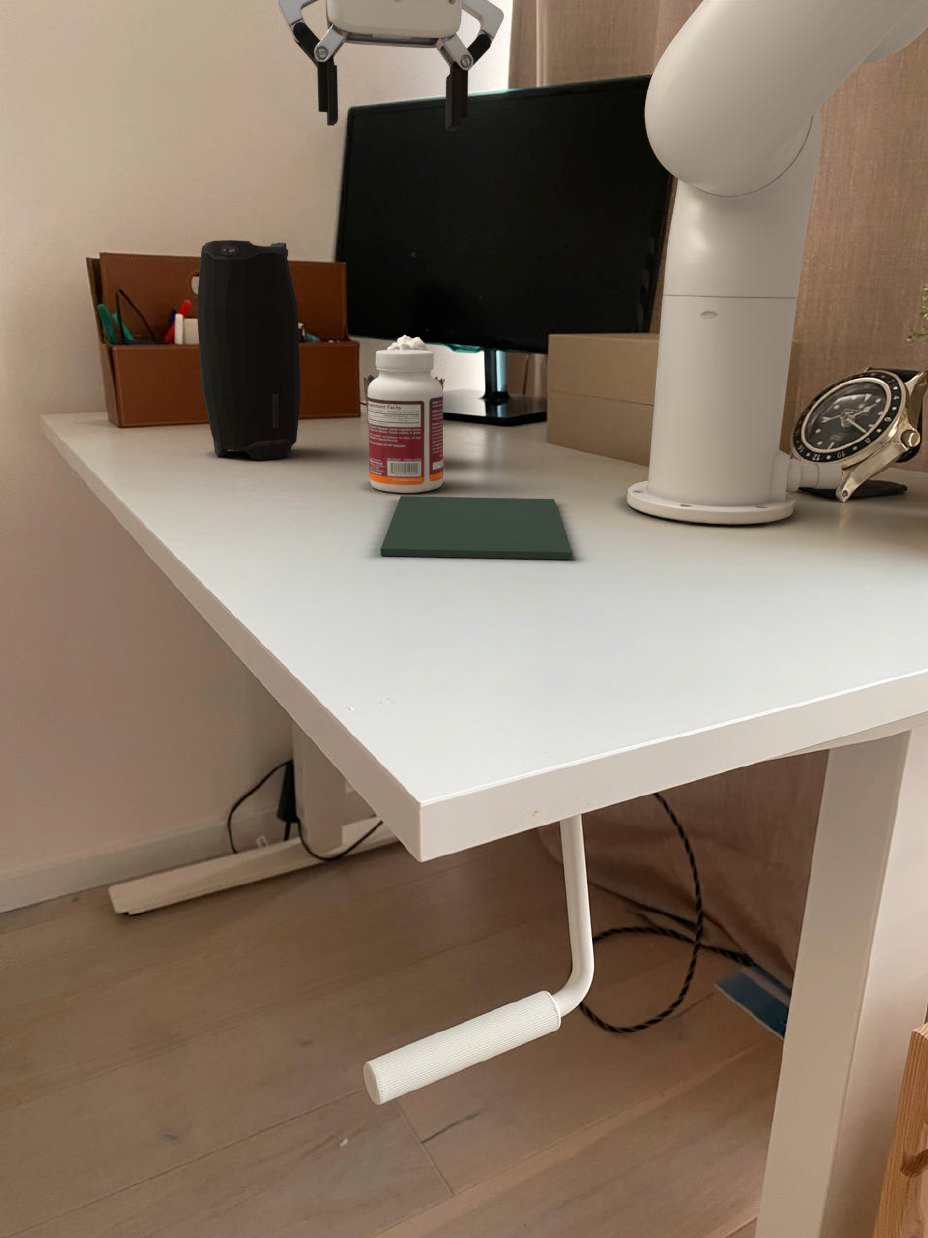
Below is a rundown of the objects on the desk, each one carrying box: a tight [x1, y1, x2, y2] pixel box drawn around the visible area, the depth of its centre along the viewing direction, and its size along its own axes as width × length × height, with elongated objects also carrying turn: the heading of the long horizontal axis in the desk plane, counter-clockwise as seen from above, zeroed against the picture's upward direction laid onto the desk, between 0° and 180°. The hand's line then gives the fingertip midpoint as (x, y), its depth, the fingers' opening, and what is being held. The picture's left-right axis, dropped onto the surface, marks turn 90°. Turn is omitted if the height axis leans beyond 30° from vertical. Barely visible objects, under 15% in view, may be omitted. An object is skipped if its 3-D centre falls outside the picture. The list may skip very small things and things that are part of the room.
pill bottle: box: [367, 349, 444, 494], centre depth 81 cm, size 6×6×11 cm
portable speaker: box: [196, 239, 301, 461], centre depth 94 cm, size 9×9×20 cm
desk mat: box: [379, 495, 573, 560], centre depth 69 cm, size 12×16×1 cm
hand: (393, 125), depth 78 cm, fingers open, 9 cm apart
